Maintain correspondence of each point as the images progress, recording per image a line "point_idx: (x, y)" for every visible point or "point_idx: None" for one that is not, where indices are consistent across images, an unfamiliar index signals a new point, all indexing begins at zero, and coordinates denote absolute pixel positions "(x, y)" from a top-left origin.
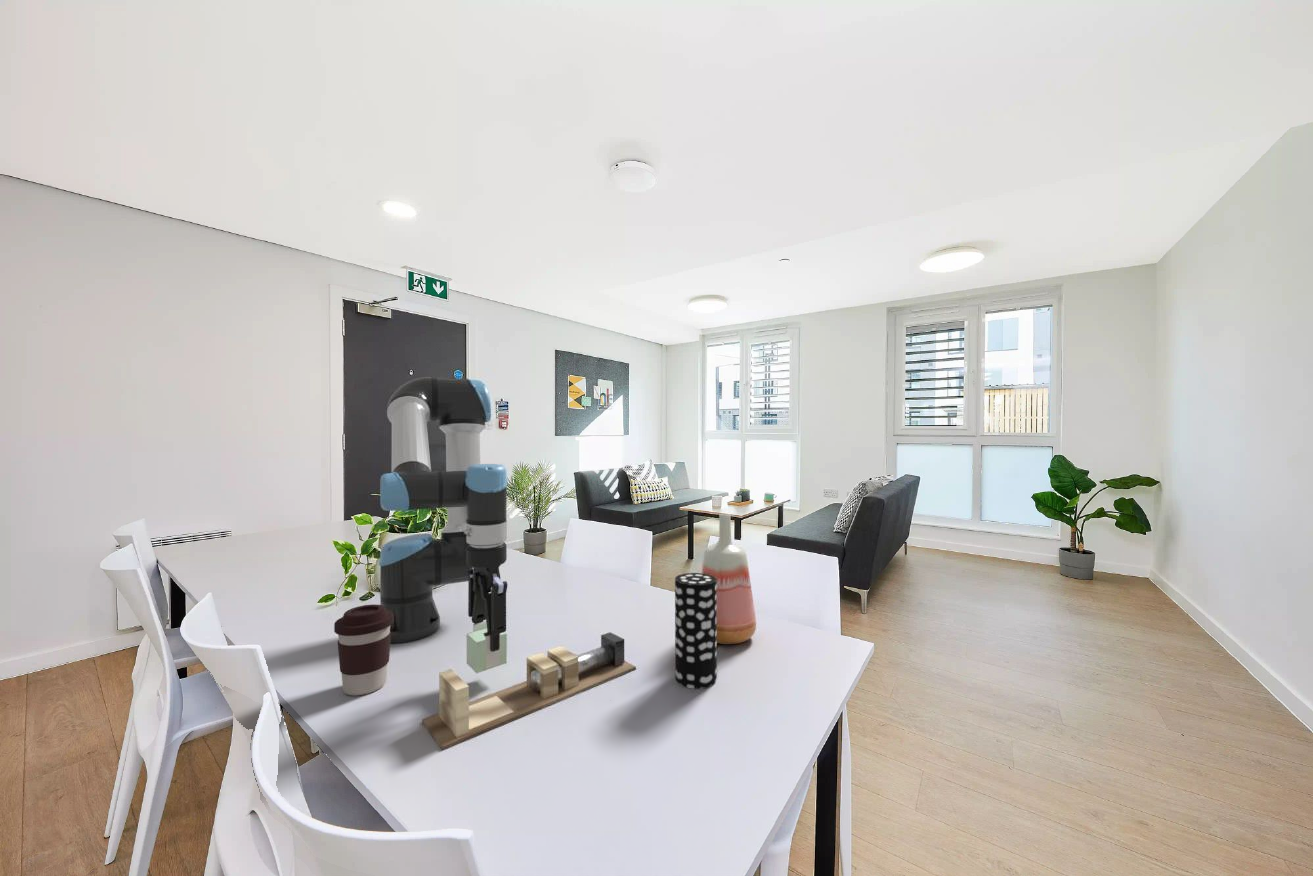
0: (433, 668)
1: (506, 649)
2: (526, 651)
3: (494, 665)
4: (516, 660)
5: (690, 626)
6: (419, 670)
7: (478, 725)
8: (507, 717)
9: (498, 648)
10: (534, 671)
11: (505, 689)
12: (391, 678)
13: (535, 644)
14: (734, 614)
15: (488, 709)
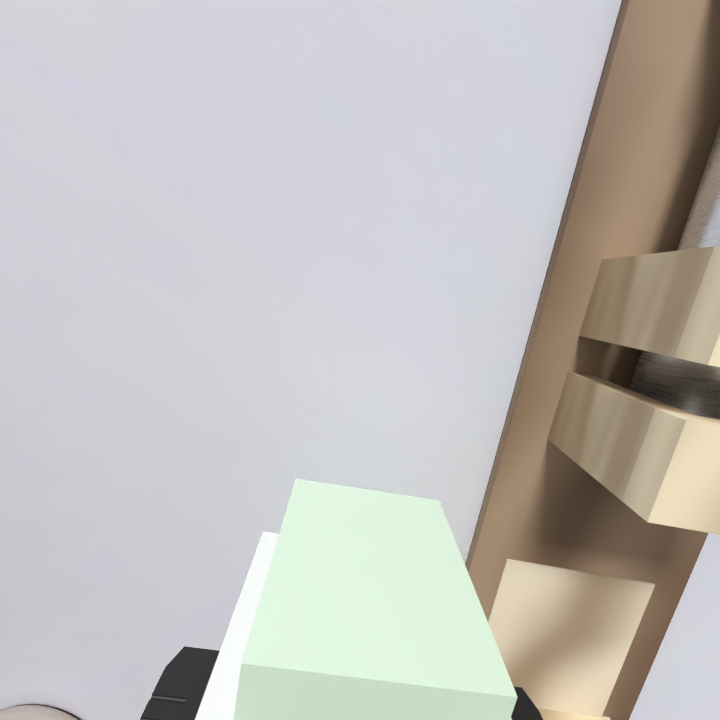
0: (66, 562)
1: (463, 562)
2: (221, 186)
3: None
4: (275, 294)
5: None
6: (44, 601)
7: (610, 689)
8: (658, 612)
9: (532, 711)
10: None
11: (493, 509)
12: (39, 682)
13: (176, 81)
14: None
15: (561, 626)
